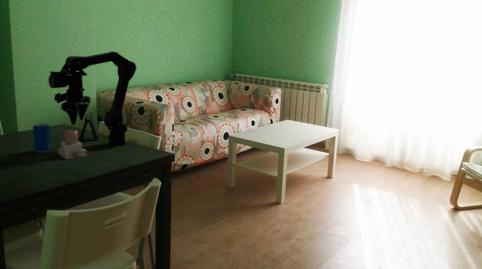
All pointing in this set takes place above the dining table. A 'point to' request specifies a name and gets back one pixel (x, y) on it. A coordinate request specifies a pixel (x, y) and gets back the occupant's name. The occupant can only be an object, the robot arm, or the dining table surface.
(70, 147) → the tower top
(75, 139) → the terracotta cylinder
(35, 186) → the dining table surface
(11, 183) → the dining table surface
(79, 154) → the tower base
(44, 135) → the beverage can
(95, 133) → the phone stand
